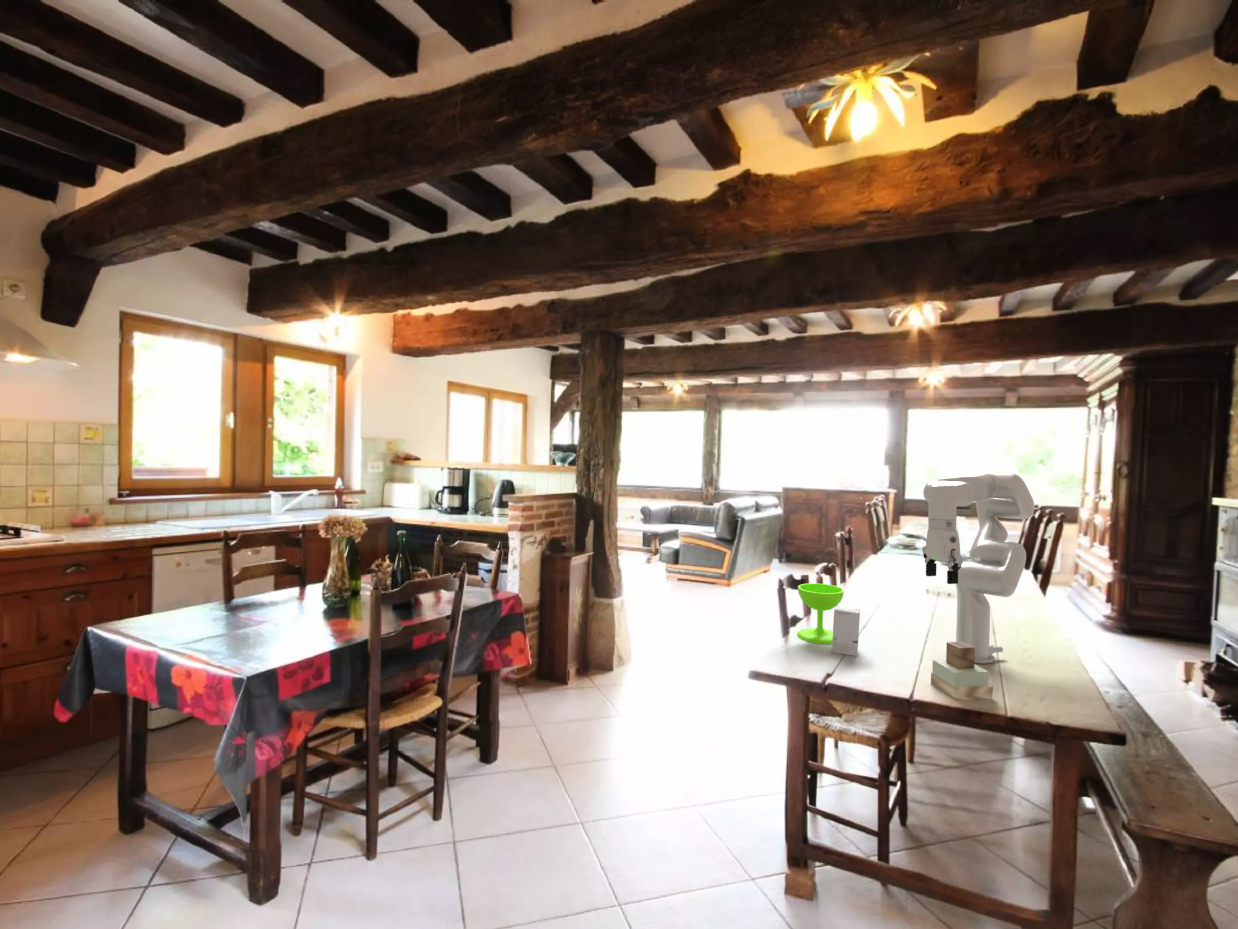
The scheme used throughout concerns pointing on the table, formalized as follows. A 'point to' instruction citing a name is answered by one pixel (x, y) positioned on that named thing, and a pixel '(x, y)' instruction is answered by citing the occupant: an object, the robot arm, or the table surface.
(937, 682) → the block bottom
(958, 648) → the walnut block
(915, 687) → the table surface
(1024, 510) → the robot arm
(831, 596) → the wineglass
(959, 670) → the block top
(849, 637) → the skincare box
